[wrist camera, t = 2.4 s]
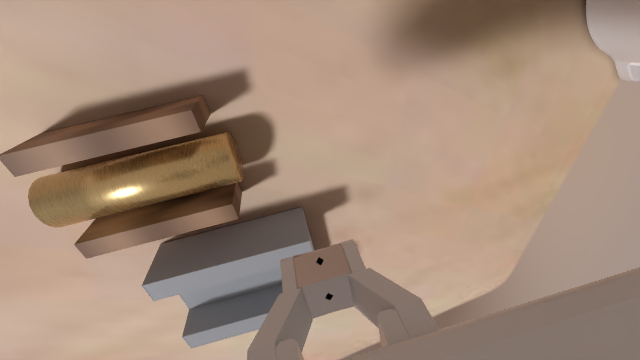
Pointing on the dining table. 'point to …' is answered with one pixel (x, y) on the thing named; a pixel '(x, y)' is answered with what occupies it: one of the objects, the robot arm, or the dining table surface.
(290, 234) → the cradle
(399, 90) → the dining table surface
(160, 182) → the axle
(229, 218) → the pair of brown bars
